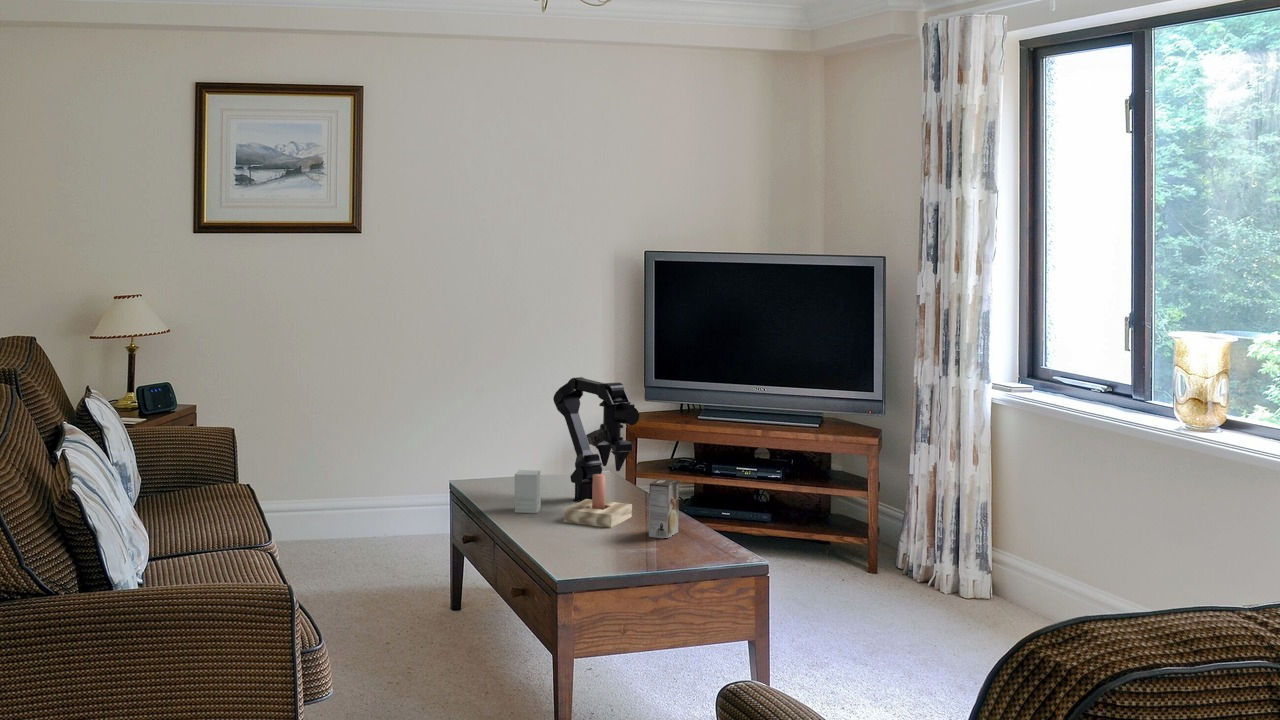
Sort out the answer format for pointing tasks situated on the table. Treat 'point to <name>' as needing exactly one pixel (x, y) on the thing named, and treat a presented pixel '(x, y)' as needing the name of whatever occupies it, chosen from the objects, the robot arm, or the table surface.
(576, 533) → the table surface
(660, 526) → the white food box
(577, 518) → the socket board
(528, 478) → the supplement box
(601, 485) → the peg
